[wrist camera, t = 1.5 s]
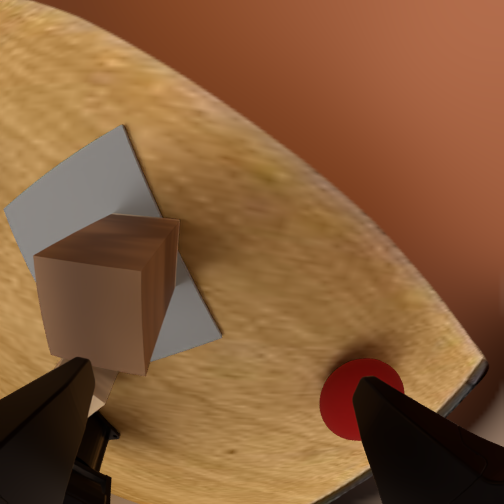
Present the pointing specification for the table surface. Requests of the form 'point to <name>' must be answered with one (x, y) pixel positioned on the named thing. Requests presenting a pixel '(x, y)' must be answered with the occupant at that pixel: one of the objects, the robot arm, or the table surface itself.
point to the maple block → (98, 385)
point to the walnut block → (109, 290)
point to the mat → (97, 207)
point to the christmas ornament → (351, 394)
